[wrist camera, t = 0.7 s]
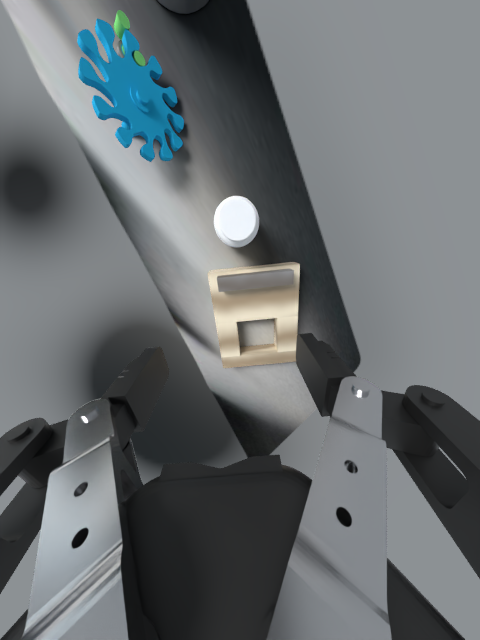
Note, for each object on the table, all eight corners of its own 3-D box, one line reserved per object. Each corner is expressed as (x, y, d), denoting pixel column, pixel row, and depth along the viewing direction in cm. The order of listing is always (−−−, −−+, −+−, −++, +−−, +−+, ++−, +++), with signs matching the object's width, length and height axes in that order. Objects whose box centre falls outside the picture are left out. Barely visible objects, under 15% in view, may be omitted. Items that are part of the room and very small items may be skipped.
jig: (210, 270, 30) (205, 275, 25) (293, 261, 30) (304, 265, 25) (224, 358, 37) (222, 375, 33) (291, 352, 37) (299, 368, 33)
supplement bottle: (259, 236, 28) (270, 234, 19) (228, 252, 29) (225, 257, 20) (244, 198, 26) (249, 177, 17) (211, 217, 27) (200, 206, 18)
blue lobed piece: (191, 170, 23) (95, 132, 16) (170, 186, 27) (85, 160, 20) (180, 53, 20) (55, -54, 13) (158, 90, 24) (53, 22, 17)
